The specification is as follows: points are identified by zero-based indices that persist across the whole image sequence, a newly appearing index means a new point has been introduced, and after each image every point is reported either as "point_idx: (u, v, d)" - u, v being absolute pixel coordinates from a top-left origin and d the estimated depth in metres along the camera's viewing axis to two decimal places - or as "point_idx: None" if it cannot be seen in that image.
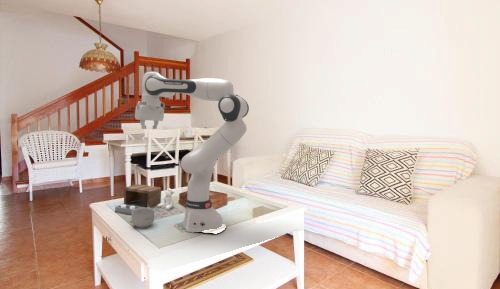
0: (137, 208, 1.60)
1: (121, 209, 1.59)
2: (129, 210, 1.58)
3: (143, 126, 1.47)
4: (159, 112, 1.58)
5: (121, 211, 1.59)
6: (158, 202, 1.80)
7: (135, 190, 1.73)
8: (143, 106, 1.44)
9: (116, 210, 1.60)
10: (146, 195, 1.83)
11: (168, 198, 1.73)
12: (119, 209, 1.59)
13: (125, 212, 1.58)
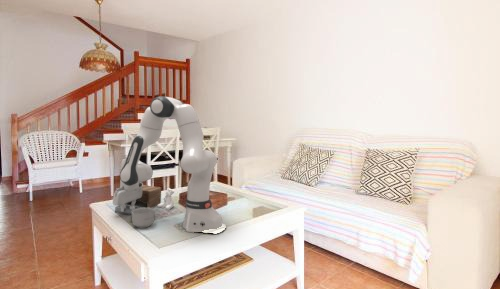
0: (137, 208, 1.60)
1: None
2: (129, 210, 1.58)
3: (122, 209, 1.57)
4: (138, 191, 1.66)
5: (121, 211, 1.59)
6: (158, 202, 1.80)
7: None
8: (120, 192, 1.53)
9: (116, 210, 1.60)
10: (146, 195, 1.83)
11: (168, 198, 1.73)
12: (119, 209, 1.59)
13: (125, 212, 1.58)
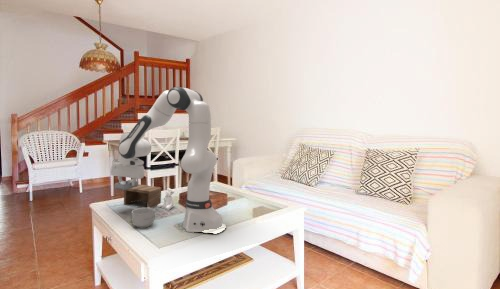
0: (120, 184, 1.57)
1: None
2: None
3: None
4: (134, 170, 1.60)
5: None
6: (158, 202, 1.80)
7: (135, 190, 1.73)
8: (113, 163, 1.63)
9: None
10: (146, 195, 1.83)
11: (168, 198, 1.73)
12: None
13: None
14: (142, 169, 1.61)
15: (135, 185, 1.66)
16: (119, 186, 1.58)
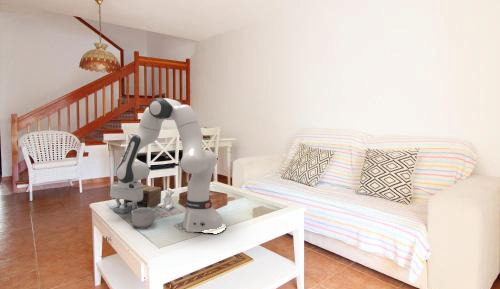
0: (119, 208, 1.58)
1: None
2: None
3: None
4: (133, 193, 1.60)
5: None
6: (158, 202, 1.80)
7: None
8: (113, 186, 1.64)
9: None
10: (146, 195, 1.83)
11: (168, 198, 1.73)
12: None
13: None
14: (141, 192, 1.62)
15: (134, 208, 1.67)
16: (118, 210, 1.58)
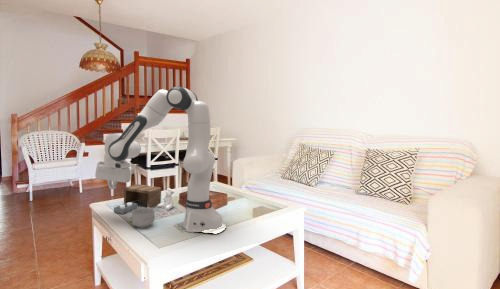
0: (119, 208, 1.58)
1: None
2: None
3: None
4: (120, 173, 1.49)
5: None
6: (158, 202, 1.80)
7: (135, 190, 1.73)
8: (98, 166, 1.53)
9: None
10: (146, 195, 1.83)
11: (168, 198, 1.73)
12: None
13: None
14: (128, 172, 1.50)
15: (134, 208, 1.67)
16: (118, 210, 1.58)
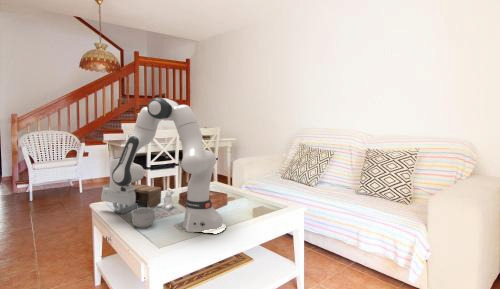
0: None
1: None
2: None
3: None
4: (125, 196, 1.54)
5: None
6: (158, 202, 1.80)
7: (135, 190, 1.73)
8: (104, 189, 1.58)
9: None
10: (146, 195, 1.83)
11: (168, 198, 1.73)
12: None
13: None
14: (133, 195, 1.55)
15: (135, 208, 1.67)
16: None
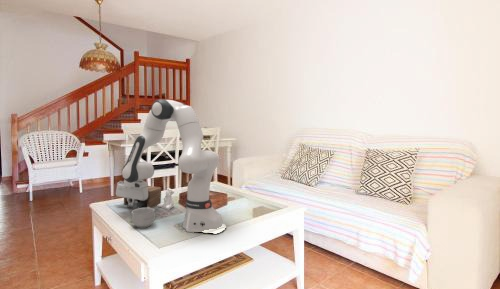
0: None
1: None
2: None
3: None
4: (139, 192, 1.65)
5: None
6: (158, 202, 1.80)
7: None
8: (118, 185, 1.69)
9: None
10: None
11: (168, 198, 1.73)
12: None
13: None
14: (146, 191, 1.66)
15: (146, 203, 1.78)
16: None
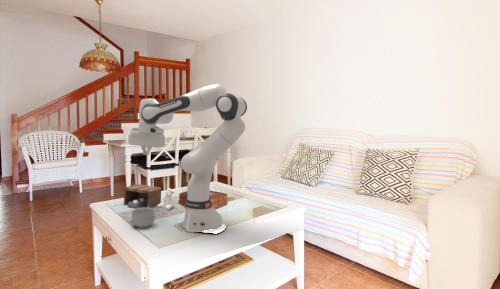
0: (133, 203, 1.70)
1: None
2: None
3: None
4: (155, 138, 1.50)
5: None
6: (158, 202, 1.80)
7: (135, 190, 1.73)
8: (132, 132, 1.54)
9: None
10: (146, 195, 1.83)
11: (168, 198, 1.73)
12: None
13: None
14: (163, 137, 1.51)
15: (146, 203, 1.78)
16: (132, 205, 1.70)
